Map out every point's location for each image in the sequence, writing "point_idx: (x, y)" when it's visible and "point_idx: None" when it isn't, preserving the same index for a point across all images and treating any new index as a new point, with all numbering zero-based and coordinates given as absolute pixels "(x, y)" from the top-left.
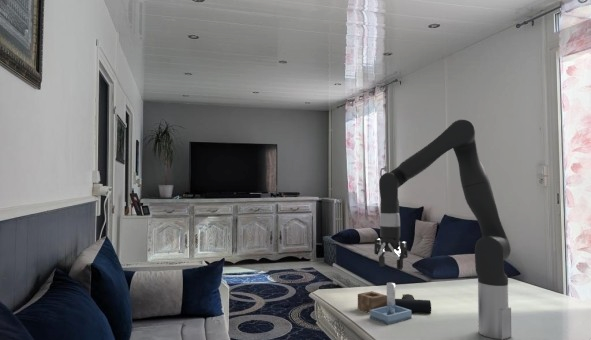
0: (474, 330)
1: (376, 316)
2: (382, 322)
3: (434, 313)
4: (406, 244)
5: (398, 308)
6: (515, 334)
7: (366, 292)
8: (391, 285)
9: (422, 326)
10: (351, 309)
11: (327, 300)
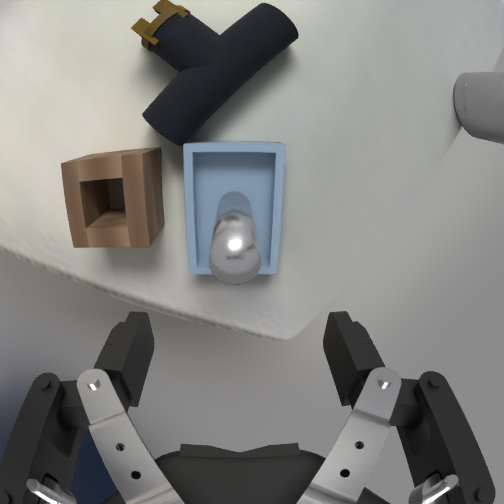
0: (446, 105)
1: None
2: None
3: None
4: (486, 480)
5: (222, 151)
6: None
7: (67, 200)
8: (253, 274)
9: (350, 185)
10: None
11: (10, 244)
